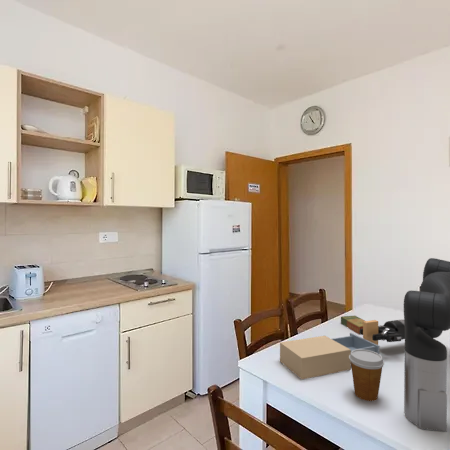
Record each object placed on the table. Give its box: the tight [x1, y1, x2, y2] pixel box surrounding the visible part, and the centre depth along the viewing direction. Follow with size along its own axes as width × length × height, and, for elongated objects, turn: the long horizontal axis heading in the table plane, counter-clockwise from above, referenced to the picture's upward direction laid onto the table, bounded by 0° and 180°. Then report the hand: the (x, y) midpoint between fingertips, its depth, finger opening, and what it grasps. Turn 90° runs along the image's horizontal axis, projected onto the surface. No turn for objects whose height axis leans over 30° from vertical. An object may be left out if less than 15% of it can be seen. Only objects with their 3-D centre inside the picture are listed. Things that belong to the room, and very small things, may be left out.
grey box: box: [331, 319, 380, 354], centre depth 115 cm, size 26×14×12 cm, turn 110°
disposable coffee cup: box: [349, 349, 385, 402], centre depth 91 cm, size 10×10×12 cm
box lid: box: [279, 335, 352, 380], centre depth 110 cm, size 20×14×7 cm
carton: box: [340, 315, 366, 336], centre depth 149 cm, size 8×16×4 cm, turn 9°
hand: (366, 334), depth 118 cm, fingers open, 6 cm apart
